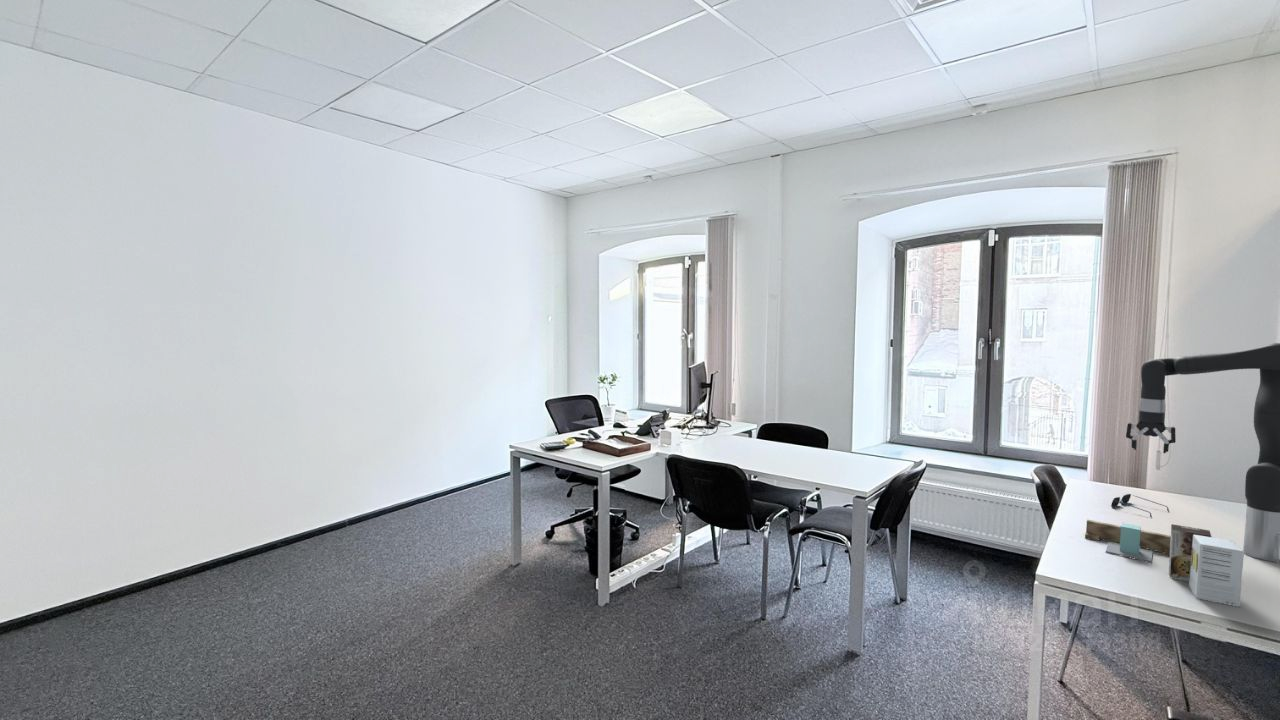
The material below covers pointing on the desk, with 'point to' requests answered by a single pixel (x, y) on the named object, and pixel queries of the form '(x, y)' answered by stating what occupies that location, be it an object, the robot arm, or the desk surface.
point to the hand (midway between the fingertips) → (1149, 451)
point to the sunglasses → (1126, 499)
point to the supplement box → (1216, 570)
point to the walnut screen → (1113, 533)
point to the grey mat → (1143, 553)
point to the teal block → (1130, 538)
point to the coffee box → (1182, 550)
